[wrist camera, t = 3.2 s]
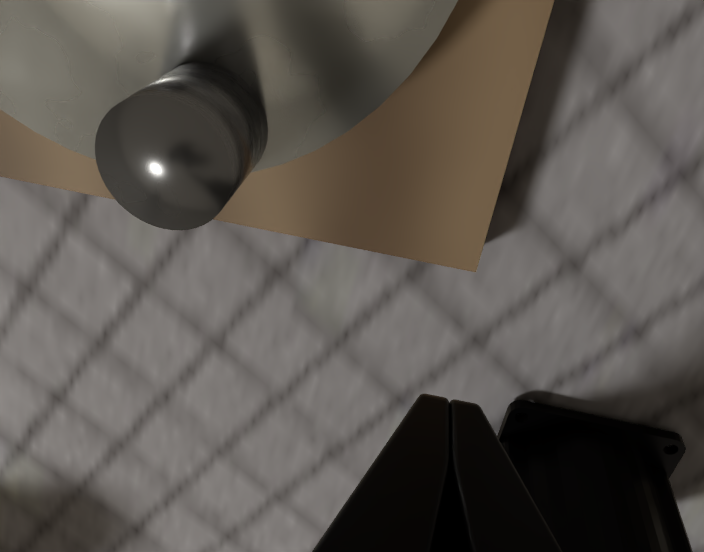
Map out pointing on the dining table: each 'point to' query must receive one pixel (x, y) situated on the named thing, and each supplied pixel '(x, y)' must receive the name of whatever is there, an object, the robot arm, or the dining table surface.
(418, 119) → the base board
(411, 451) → the robot arm
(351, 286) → the dining table surface
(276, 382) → the dining table surface
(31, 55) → the flange plate
